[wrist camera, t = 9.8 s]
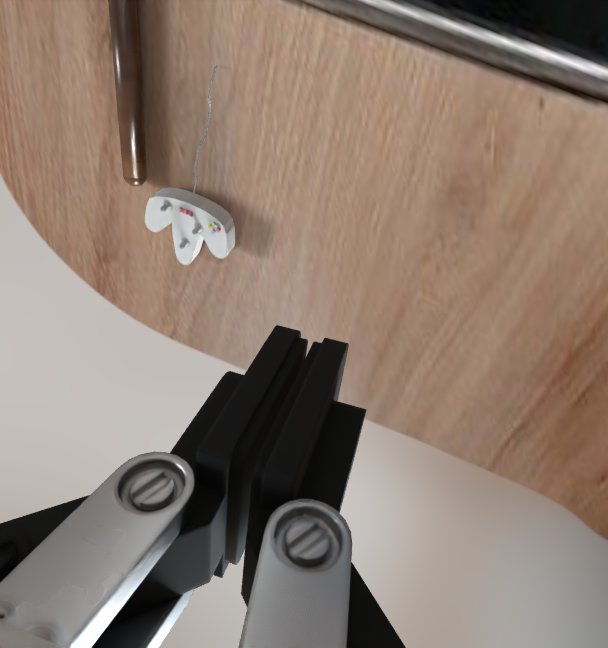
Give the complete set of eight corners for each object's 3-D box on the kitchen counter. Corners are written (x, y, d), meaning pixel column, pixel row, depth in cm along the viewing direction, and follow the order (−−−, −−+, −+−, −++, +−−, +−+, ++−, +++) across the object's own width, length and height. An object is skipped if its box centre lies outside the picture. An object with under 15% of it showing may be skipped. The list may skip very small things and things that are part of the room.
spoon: (71, -194, 23) (50, -205, 22) (165, -187, 22) (149, -198, 21) (108, 175, 32) (95, 181, 31) (175, 190, 31) (164, 196, 30)
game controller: (165, 254, 34) (144, 270, 32) (130, 66, 28) (101, 70, 26) (242, 261, 33) (225, 278, 31) (221, 64, 27) (199, 68, 25)
